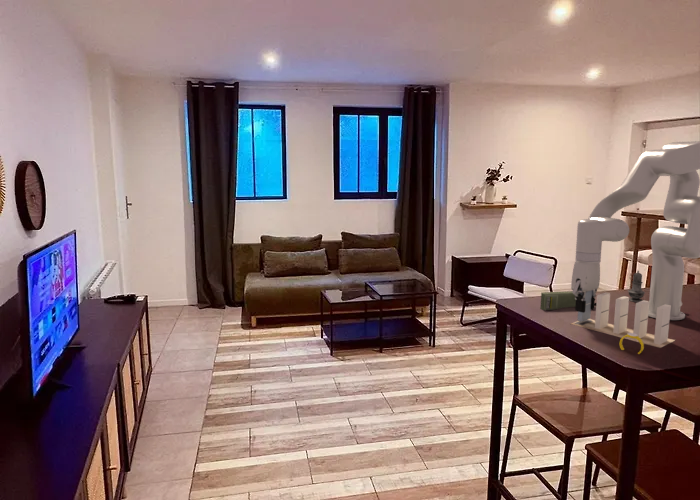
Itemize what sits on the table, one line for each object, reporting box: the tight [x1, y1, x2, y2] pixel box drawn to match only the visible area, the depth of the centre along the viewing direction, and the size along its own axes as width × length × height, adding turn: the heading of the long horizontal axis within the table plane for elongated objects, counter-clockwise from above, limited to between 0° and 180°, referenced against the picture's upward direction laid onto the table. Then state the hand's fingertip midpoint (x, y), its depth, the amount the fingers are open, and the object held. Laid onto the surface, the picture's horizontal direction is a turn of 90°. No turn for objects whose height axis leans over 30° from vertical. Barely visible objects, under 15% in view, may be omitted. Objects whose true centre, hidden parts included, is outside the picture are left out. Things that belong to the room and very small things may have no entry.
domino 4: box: [633, 299, 649, 338], centre depth 153 cm, size 2×5×11 cm, turn 126°
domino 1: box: [577, 289, 592, 321], centre depth 168 cm, size 2×5×11 cm, turn 126°
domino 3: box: [613, 296, 630, 334], centre depth 158 cm, size 2×5×11 cm, turn 126°
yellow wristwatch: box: [619, 333, 645, 355], centre depth 143 cm, size 6×3×6 cm, turn 45°
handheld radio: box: [539, 290, 597, 311], centre depth 187 cm, size 7×3×25 cm
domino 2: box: [594, 292, 611, 329], centre depth 163 cm, size 2×5×11 cm, turn 126°
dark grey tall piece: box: [627, 270, 646, 303], centre depth 195 cm, size 6×6×12 cm
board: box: [570, 318, 676, 349], centre depth 159 cm, size 10×28×1 cm, turn 36°
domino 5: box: [654, 305, 671, 345], centre depth 149 cm, size 2×5×11 cm, turn 126°
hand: (584, 309), depth 168 cm, fingers closed on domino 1, 4 cm apart
